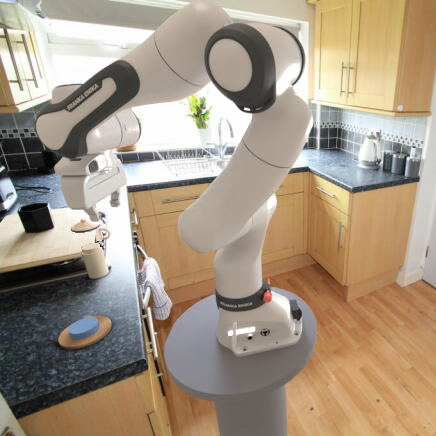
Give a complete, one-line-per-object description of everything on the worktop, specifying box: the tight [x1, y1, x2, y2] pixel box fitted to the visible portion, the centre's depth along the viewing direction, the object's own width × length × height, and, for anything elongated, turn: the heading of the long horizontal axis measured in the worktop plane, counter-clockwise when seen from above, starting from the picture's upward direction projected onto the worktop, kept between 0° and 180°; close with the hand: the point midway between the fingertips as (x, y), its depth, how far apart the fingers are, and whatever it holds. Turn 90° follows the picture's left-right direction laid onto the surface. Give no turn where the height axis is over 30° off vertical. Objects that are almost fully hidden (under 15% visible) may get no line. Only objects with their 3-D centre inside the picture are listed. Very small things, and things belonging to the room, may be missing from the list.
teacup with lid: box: [70, 217, 112, 242], centre depth 120 cm, size 12×9×12 cm
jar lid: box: [69, 316, 99, 339], centre depth 81 cm, size 6×6×2 cm
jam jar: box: [80, 243, 110, 279], centre depth 104 cm, size 6×6×10 cm
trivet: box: [57, 315, 113, 350], centre depth 82 cm, size 11×11×1 cm
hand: (106, 213), depth 80 cm, fingers open, 8 cm apart
